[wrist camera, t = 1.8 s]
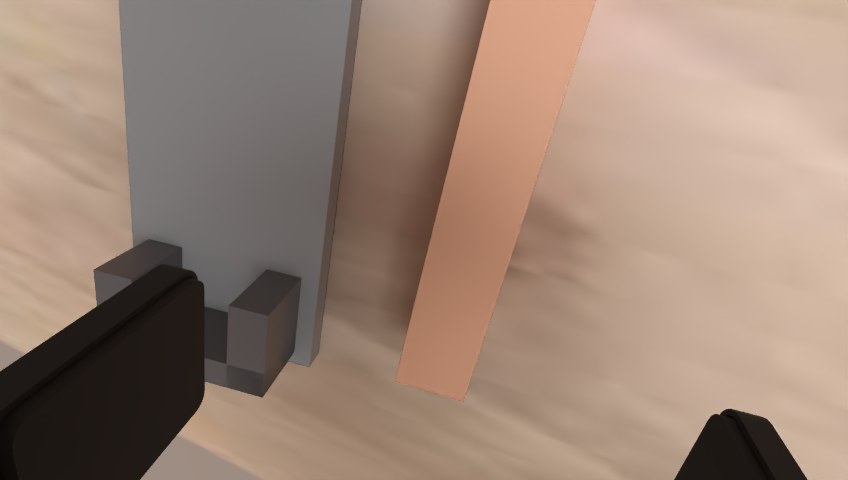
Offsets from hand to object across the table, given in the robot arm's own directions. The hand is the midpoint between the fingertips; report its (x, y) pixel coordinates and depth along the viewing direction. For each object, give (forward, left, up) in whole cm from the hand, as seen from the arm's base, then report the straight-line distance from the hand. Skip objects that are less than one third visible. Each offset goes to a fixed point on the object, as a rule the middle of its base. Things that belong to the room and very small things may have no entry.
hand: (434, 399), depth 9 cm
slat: (0, 0, -17) cm, 17 cm away
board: (+6, +11, -17) cm, 21 cm away
